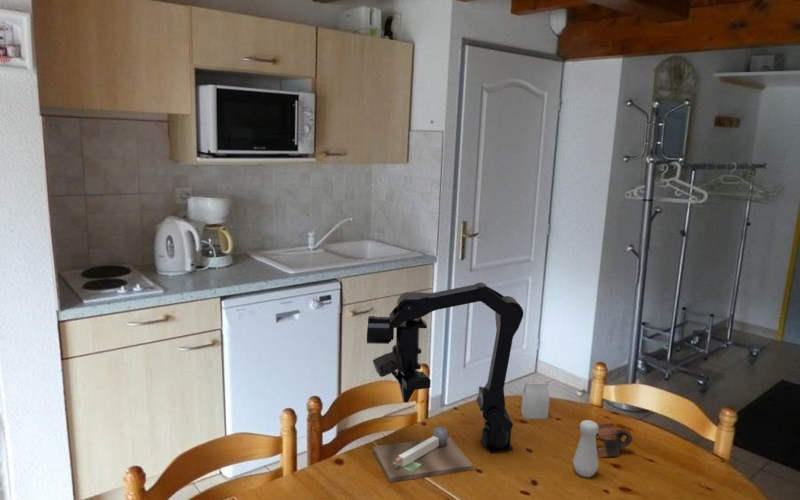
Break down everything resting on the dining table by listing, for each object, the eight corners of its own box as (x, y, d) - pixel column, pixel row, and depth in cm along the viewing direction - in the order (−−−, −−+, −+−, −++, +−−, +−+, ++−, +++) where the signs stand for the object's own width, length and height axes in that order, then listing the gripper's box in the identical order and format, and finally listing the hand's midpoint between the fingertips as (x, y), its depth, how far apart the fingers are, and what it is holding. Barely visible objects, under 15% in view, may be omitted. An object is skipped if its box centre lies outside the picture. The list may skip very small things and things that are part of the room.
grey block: (547, 418, 169) (550, 386, 167) (524, 418, 168) (527, 386, 166) (543, 412, 172) (546, 381, 171) (521, 412, 172) (523, 381, 170)
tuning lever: (438, 437, 152) (439, 425, 151) (449, 442, 150) (450, 430, 149) (390, 465, 138) (390, 451, 138) (401, 471, 136) (402, 457, 135)
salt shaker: (598, 481, 138) (603, 430, 135) (573, 477, 139) (578, 426, 136) (595, 468, 143) (600, 418, 141) (571, 464, 144) (576, 415, 142)
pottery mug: (587, 459, 148) (581, 425, 151) (587, 457, 157) (581, 426, 160) (637, 454, 145) (629, 420, 148) (634, 453, 154) (627, 421, 157)
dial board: (449, 440, 154) (449, 435, 154) (472, 469, 140) (473, 464, 140) (372, 450, 147) (372, 445, 147) (389, 482, 134) (389, 477, 134)
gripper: (366, 334, 153) (365, 390, 155) (387, 359, 135) (386, 422, 138) (406, 331, 156) (405, 386, 159) (432, 355, 139) (430, 416, 142)
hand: (405, 401), depth 149 cm, fingers closed
